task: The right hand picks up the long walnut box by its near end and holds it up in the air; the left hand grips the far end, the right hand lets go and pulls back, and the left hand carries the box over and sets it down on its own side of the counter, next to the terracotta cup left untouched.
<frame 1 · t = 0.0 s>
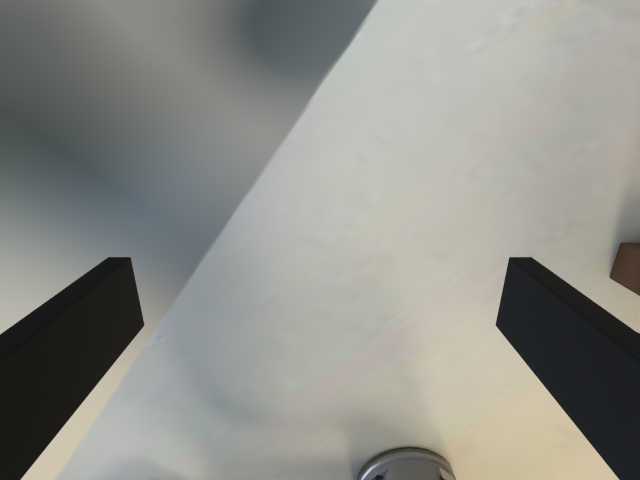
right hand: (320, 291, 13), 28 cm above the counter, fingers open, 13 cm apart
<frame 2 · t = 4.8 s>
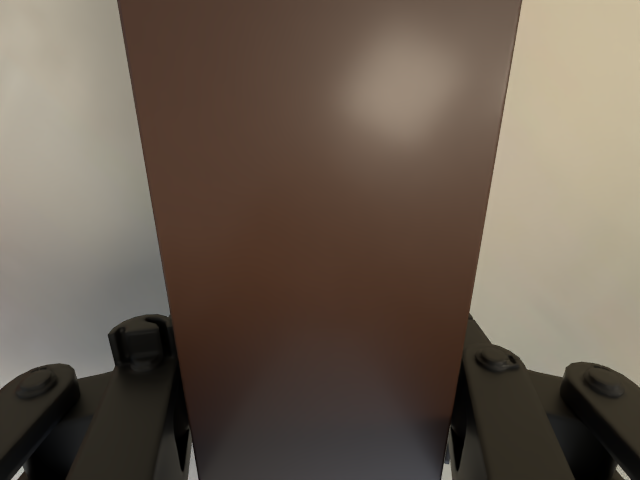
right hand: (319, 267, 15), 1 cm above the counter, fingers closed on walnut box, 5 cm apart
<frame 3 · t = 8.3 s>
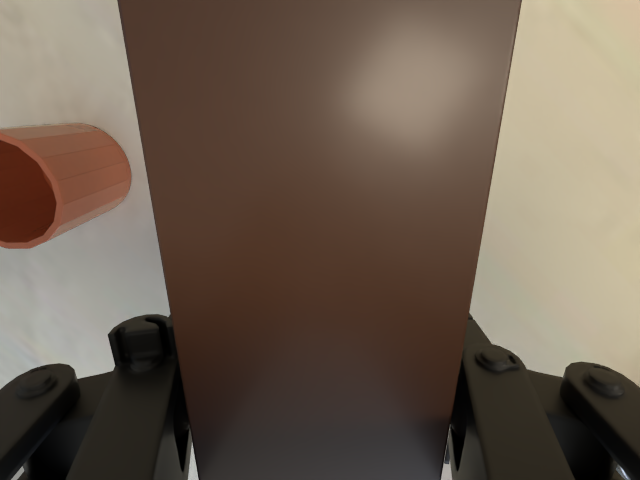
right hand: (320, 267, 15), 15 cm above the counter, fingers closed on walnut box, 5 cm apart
terracotta cup: (86, 169, 28), on the counter
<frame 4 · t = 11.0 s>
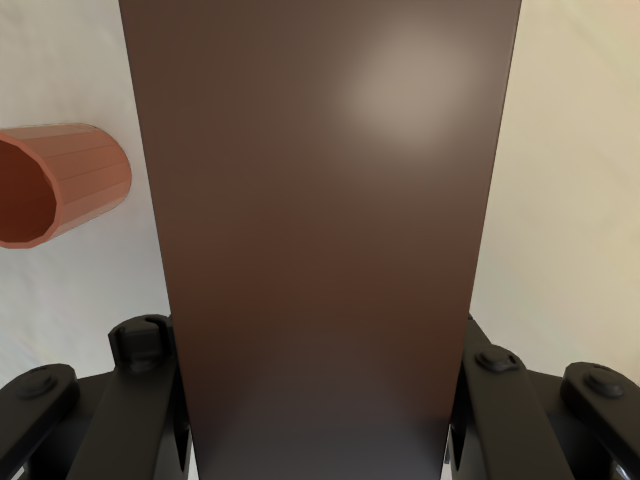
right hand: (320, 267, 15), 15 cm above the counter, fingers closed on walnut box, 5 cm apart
terracotta cup: (86, 169, 28), on the counter
when the right hand's fingers open (15 cm above the counter, at t = 11.8 s): walnut box stays where it is, held by the left hand.
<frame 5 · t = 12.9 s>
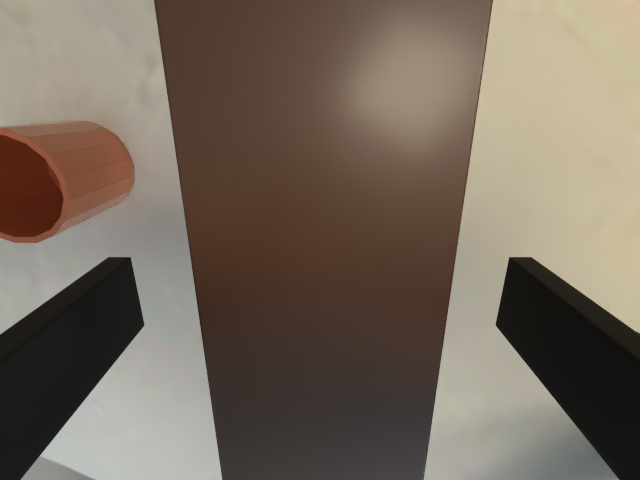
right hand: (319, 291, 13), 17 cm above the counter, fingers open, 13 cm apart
terracotta cup: (90, 166, 28), on the counter
when the left hand's fingers open (5 cm above the counter, at t = 23.3 s): walnut box drops 1 cm, on the counter.
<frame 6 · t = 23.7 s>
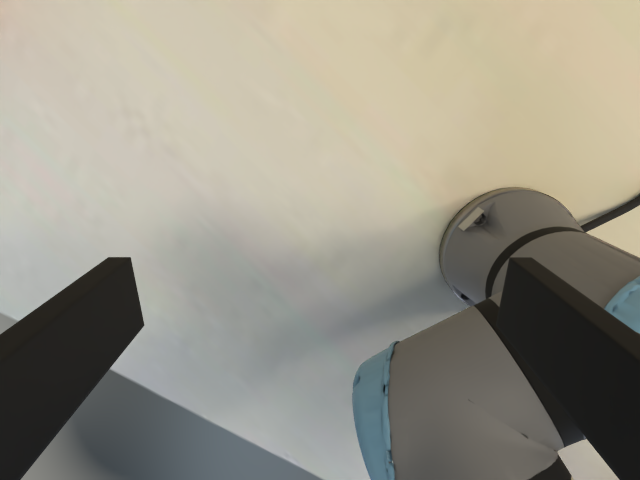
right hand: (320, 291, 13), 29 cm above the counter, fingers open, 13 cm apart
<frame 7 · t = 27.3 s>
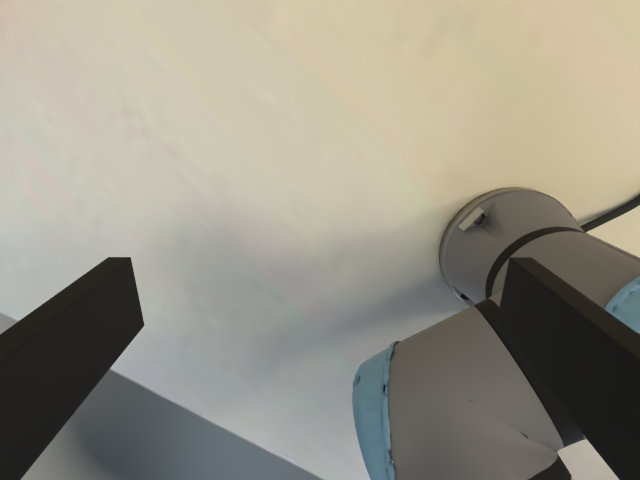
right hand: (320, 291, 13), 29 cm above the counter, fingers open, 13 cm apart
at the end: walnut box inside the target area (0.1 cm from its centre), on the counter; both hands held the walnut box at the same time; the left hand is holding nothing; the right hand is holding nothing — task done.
